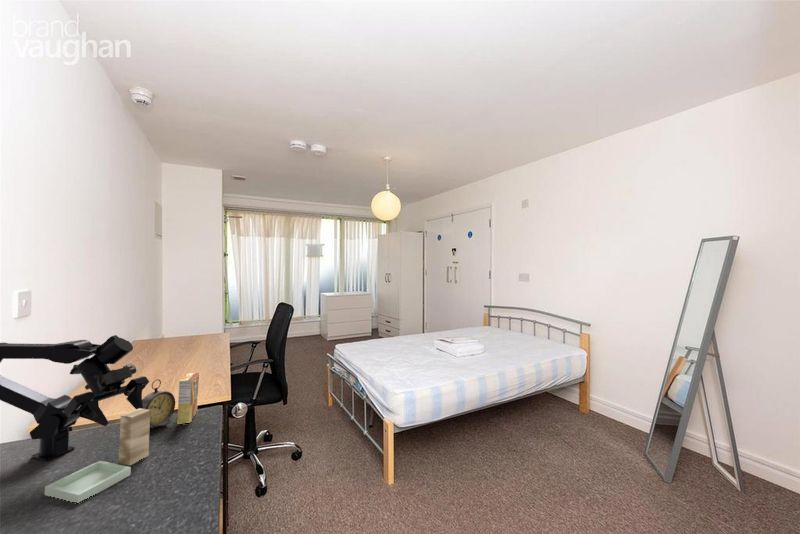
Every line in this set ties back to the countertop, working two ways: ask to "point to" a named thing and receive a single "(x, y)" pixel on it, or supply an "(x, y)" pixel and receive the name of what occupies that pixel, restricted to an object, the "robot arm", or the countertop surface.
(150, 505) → the countertop surface
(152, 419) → the alarm clock
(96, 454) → the countertop surface
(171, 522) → the countertop surface
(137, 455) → the beech block
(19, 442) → the countertop surface
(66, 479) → the green tray
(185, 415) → the candy box
